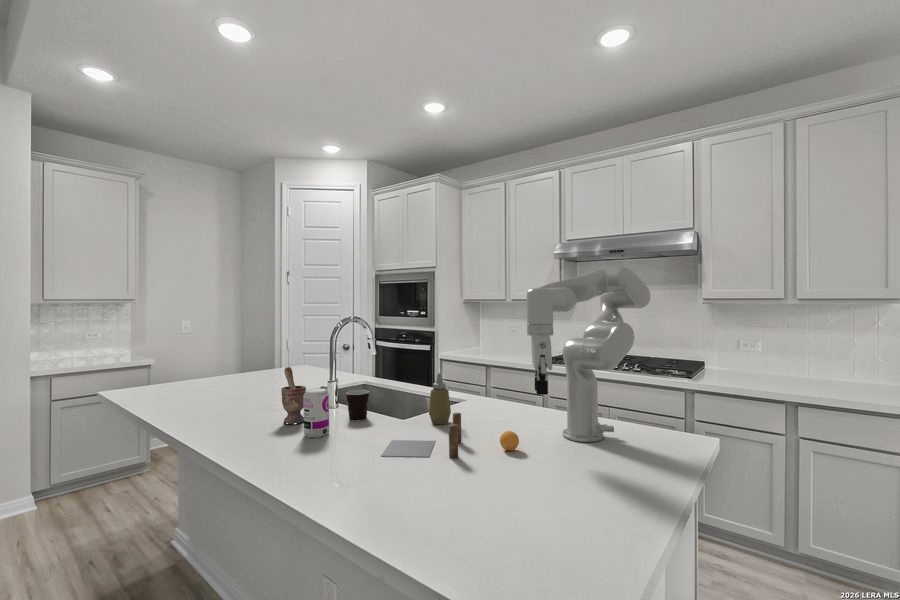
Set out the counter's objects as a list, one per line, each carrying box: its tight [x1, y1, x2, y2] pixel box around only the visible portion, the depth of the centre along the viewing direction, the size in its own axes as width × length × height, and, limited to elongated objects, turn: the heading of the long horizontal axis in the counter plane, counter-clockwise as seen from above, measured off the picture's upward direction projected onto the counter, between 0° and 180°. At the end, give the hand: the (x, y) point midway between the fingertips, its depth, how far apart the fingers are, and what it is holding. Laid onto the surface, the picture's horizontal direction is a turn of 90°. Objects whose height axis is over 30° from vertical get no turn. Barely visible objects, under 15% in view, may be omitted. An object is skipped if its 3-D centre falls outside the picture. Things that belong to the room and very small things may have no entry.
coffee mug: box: [345, 389, 370, 422], centre depth 168 cm, size 12×9×10 cm
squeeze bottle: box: [428, 372, 452, 425], centre depth 159 cm, size 8×8×18 cm
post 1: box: [452, 412, 462, 445], centre depth 136 cm, size 3×3×9 cm
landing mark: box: [380, 439, 436, 458], centre depth 131 cm, size 14×14×1 cm
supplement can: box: [303, 387, 330, 438], centre depth 147 cm, size 8×8×15 cm
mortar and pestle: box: [281, 366, 307, 424], centre depth 163 cm, size 12×9×20 cm
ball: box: [499, 430, 520, 452], centre depth 128 cm, size 6×6×6 cm
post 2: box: [448, 423, 459, 460], centre depth 124 cm, size 3×3×9 cm
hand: (541, 391), depth 128 cm, fingers open, 4 cm apart
